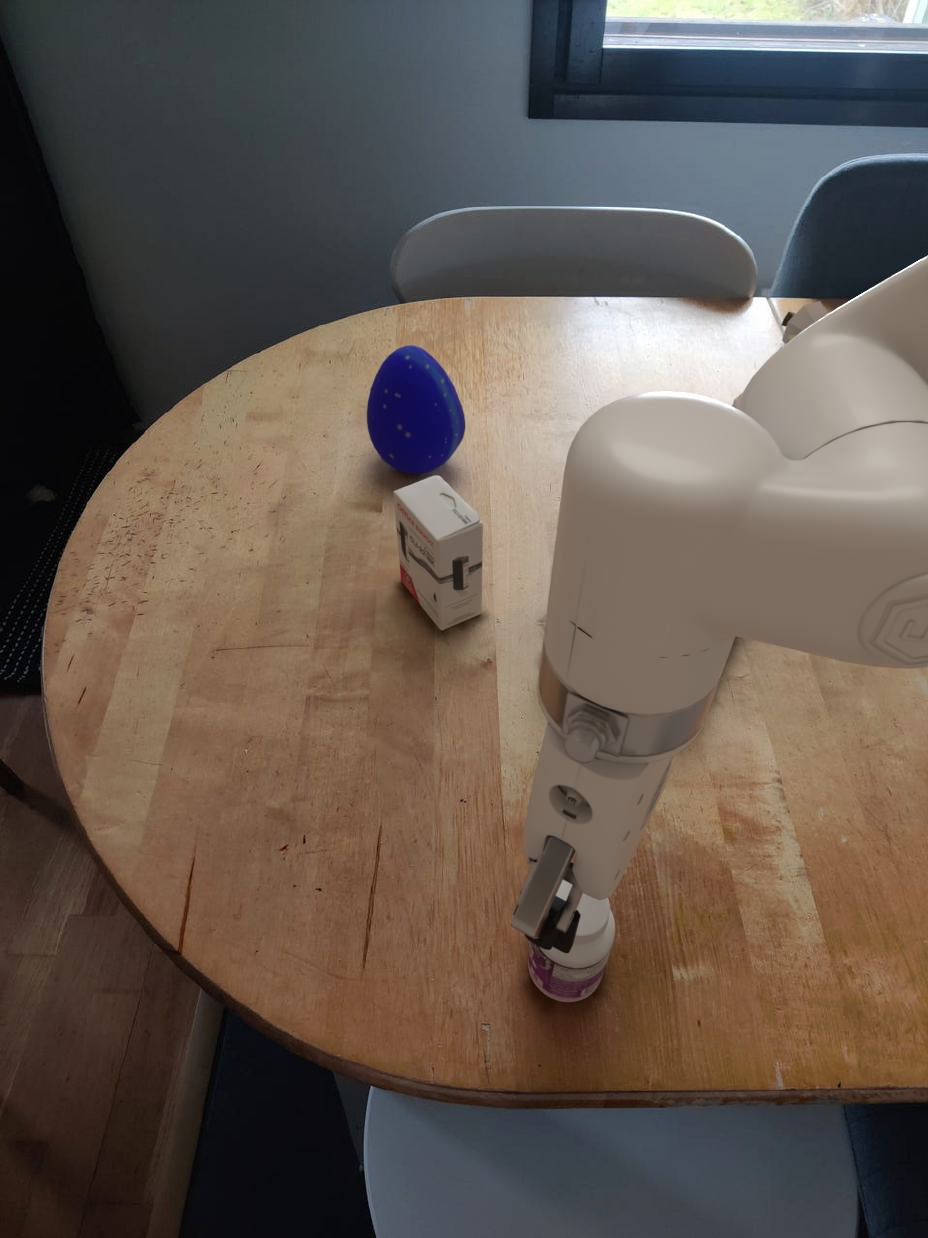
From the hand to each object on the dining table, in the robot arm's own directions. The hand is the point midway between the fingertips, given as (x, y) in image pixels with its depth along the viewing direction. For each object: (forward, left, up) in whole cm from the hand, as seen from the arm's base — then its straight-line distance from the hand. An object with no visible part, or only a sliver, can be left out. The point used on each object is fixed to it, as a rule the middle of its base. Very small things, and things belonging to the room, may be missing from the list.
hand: (580, 865), depth 49 cm
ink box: (+17, -34, -15) cm, 41 cm away
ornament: (+25, -55, -15) cm, 62 cm away
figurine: (-23, -89, -15) cm, 93 cm away
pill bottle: (0, 0, -15) cm, 15 cm away
